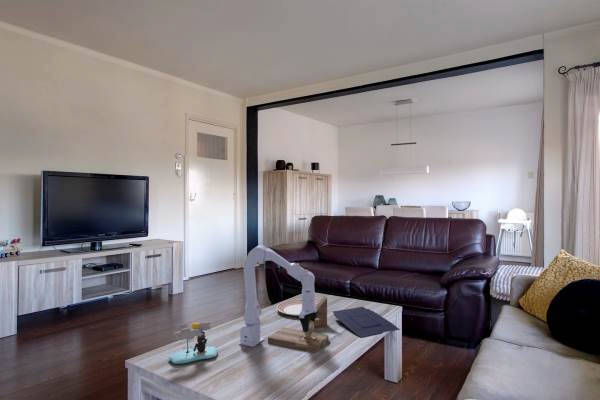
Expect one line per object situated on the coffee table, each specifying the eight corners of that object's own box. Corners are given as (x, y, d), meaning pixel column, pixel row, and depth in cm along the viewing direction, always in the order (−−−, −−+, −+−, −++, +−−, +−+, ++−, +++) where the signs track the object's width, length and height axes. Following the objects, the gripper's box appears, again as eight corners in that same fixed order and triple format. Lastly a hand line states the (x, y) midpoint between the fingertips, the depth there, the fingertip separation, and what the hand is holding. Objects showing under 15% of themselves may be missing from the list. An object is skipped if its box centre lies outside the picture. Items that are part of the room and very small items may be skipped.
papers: (365, 310, 214) (365, 304, 213) (400, 334, 187) (400, 327, 187) (328, 316, 203) (328, 310, 203) (359, 343, 177) (360, 335, 176)
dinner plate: (305, 323, 198) (305, 316, 198) (266, 313, 214) (266, 307, 214) (333, 310, 219) (333, 304, 219) (296, 302, 236) (296, 296, 236)
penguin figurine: (216, 349, 164) (216, 314, 163) (221, 359, 154) (221, 322, 154) (168, 357, 156) (167, 320, 156) (169, 367, 146) (169, 329, 146)
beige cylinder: (311, 339, 166) (311, 324, 166) (300, 337, 168) (300, 323, 168) (315, 335, 171) (315, 321, 171) (305, 333, 173) (305, 319, 173)
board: (316, 352, 160) (316, 346, 160) (267, 342, 171) (267, 337, 171) (328, 340, 173) (328, 335, 173) (282, 332, 183) (282, 327, 183)
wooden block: (327, 325, 193) (327, 290, 193) (308, 328, 189) (308, 292, 189) (324, 323, 197) (324, 289, 196) (305, 326, 192) (305, 291, 192)
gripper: (309, 304, 161) (309, 336, 161) (322, 296, 174) (322, 325, 174) (294, 302, 164) (295, 333, 164) (308, 294, 177) (308, 323, 177)
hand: (308, 329), depth 169 cm, fingers closed on beige cylinder, 5 cm apart
